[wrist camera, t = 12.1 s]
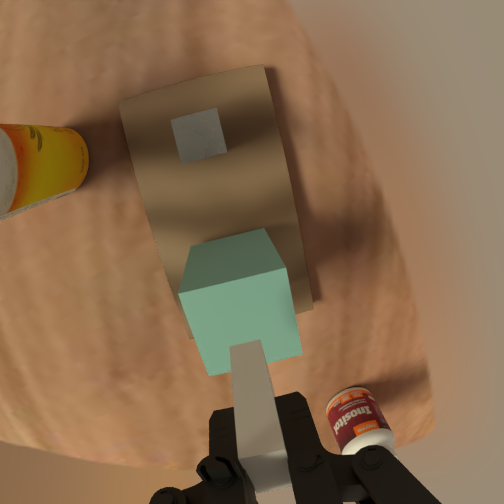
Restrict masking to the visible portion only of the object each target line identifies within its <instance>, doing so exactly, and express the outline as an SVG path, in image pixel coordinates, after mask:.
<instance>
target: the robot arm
mask: <svg viewBox="0 0 504 504" xmlns="http://www.w3.org/2000/svg"><path fill="white" fill-rule="evenodd" d="M229 347H230V362H231V376H232V390H233V403H234V407H231V408H226V409H221V410H216V411H214V412H213V414H212V416H211V418H210V420H209V456H207V457H205V458H204V459H202V460H201V461H200V463H199V464H198V465H197V469H196V472H197V473H198V475H199V476H200V477H201V479H202V480H203V481H201V482H200V483H199V484H197V485H195V486H192V487H190V488H187V489H184V490H180V489H177V488H174V487H165V488H163V489H160V490H158V491H157V492H156V493H155V494H154V495H153V497H152V498H151V500H150V503H149V504H258V502H257V500H256V496H255V491H256V493H262V492H268V491H273V490H277V489H282V488H286V487H291V486H292V487H293V491H294V495H295V500H296V504H343V502H355V503H356V504H441V503H440V502H439V501H438V500H437V499H436V498H435V497H434V496H433V495H432V494H431V493H430V492H429V491H428V490H427V489H426V488H425V487H424V486H423V485H422V484H421V483H420V482H419V481H418V480H417V479H416V478H415V477H414V476H413V475H412V474H411V473H410V472H409V471H408V469H407V468H406V467H405V466H404V465H403V464H402V463H401V462H400V461H399V460H398V459H397V458H396V457H395V456H394V455H393V454H392V453H391V452H390V451H389V450H388V449H386V448H385V447H383V446H380V445H368V446H366V447H363V448H361V449H360V450H359V451H357V452H356V453H355V454H349V455H337V454H333V453H330V452H328V451H327V450H326V449H325V448H324V447H323V446H322V444H321V442H320V439H319V436H318V433H317V430H316V427H315V424H314V421H313V418H312V415H311V412H310V410H309V407H308V404H307V401H306V398H305V397H304V396H303V395H301V394H300V393H299V392H298V391H297V392H293V393H290V394H286V395H282V396H278V397H275V393H274V389H273V384H272V380H271V376H270V373H269V369H268V365H267V362H266V358H265V354H264V351H263V347H262V343H261V339H259V340H255V341H251V342H247V343H242V344H238V345H234V346H229Z"/></svg>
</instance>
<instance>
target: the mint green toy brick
mask: <svg viewBox="0 0 504 504" xmlns="http://www.w3.org/2000/svg"><path fill="white" fill-rule="evenodd" d="M178 295H179V298H180V301H181V304H182V306H183V309H184V312H185V315H186V318H187V320H188V323H189V326H190V328H191V331H192V334H193V336H194V339H195V342H196V344H197V347H198V349H199V352H200V355H201V357H202V360H203V362H204V365H205V367H206V370H207V372H208V375H209V376H213V375H218V374H223V373H227V372H231V362H230V347H229V346H234V345H238V344H242V343H247V342H251V341H255V340H259V339H261V343H262V347H263V351H264V354H265V358H266V362H267V363H271V362H275V361H279V360H283V359H287V358H291V357H294V356H298V355H302V348H301V343H300V337H299V332H298V327H297V321H296V316H295V311H294V305H293V300H292V295H291V290H290V285H289V280H288V275H287V270H286V266H285V265H284V263H283V261H282V259H281V257H280V256H279V254H278V252H277V250H276V248H275V247H274V245H273V243H272V241H271V239H270V238H269V236H268V234H267V232H266V230H265V229H264V228H262V229H258V230H254V231H249V232H245V233H241V234H237V235H233V236H229V237H225V238H221V239H217V240H213V241H209V242H205V243H201V244H197V245H193V246H191V247H190V251H189V254H188V258H187V262H186V265H185V269H184V273H183V277H182V281H181V284H180V288H179V292H178Z"/></svg>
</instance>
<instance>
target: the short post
mask: <svg viewBox="0 0 504 504" xmlns="http://www.w3.org/2000/svg"><path fill="white" fill-rule="evenodd" d="M171 124H172V128H173V132H174V137H175V141H176V145H177V149H178V153H179V156H180V160H181V164H185V163H188V162H192V161H196V160H199V159H203V158H207V157H211V156H215V155H219V154H223V153H227V149H226V145H225V140H224V136H223V132H222V128H221V124H220V120H219V116H218V112H217V108H214V109H209V110H205V111H202V112H198V113H194V114H190V115H186V116H183V117H179V118H176V119H172V120H171Z"/></svg>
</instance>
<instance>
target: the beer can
mask: <svg viewBox="0 0 504 504" xmlns="http://www.w3.org/2000/svg"><path fill="white" fill-rule="evenodd" d="M88 165H89V154H88V149H87V146H86V143H85V141H84V140H83V138H82V137H81V136H80V135H79V134H78V133H77V132H76V131H74V130H72V129H70V128H64V127H52V126H37V125H18V124H0V221H2V220H5V219H7V218H9V217H12V216H14V215H16V214H19V213H21V212H24V211H26V210H28V209H31V208H33V207H36V206H38V205H41V204H44V203H46V202H49V201H51V200H54V199H57V198H59V197H62V196H65V195H67V194H70V193H72V192H73V191H75V190H76V189H77V188H78V187H79V186H80V185H81V183H82V182H83V180H84V178H85V176H86V173H87V170H88Z"/></svg>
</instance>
